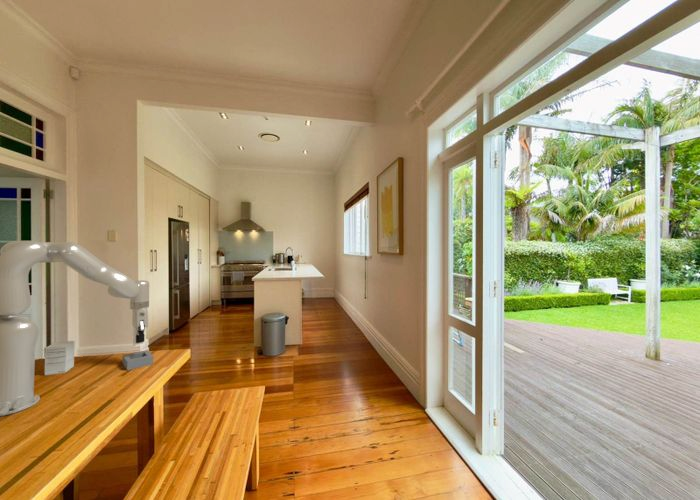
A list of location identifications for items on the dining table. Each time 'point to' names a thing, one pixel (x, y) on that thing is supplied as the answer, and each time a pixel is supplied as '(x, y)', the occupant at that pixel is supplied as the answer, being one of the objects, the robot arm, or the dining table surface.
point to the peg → (135, 337)
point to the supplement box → (59, 357)
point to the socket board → (137, 359)
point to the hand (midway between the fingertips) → (139, 340)
